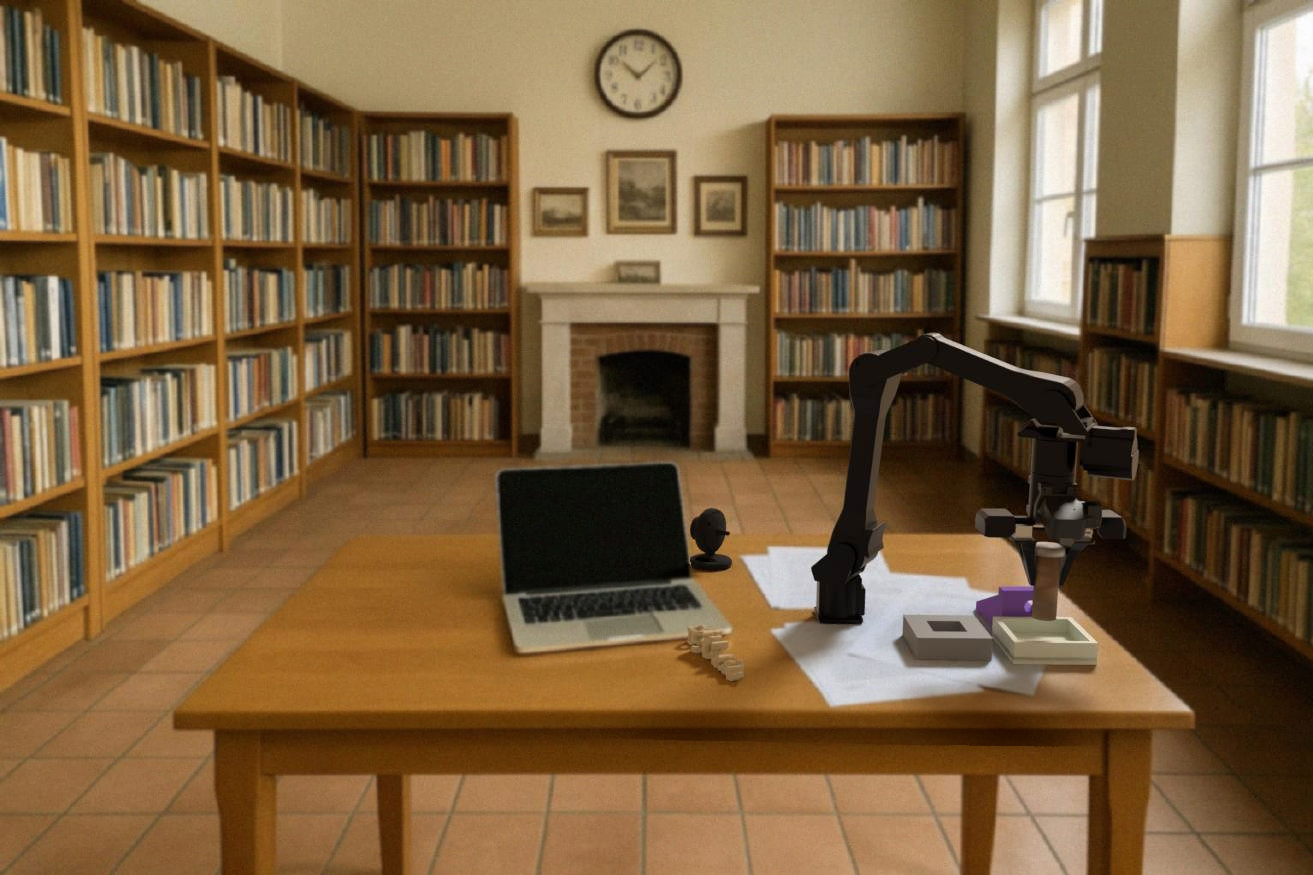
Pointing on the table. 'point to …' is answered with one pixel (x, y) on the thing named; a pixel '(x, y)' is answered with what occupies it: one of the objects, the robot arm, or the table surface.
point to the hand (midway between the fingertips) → (1045, 585)
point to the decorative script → (715, 651)
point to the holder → (947, 637)
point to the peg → (1046, 580)
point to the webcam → (709, 540)
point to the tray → (1044, 641)
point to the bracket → (1007, 603)
